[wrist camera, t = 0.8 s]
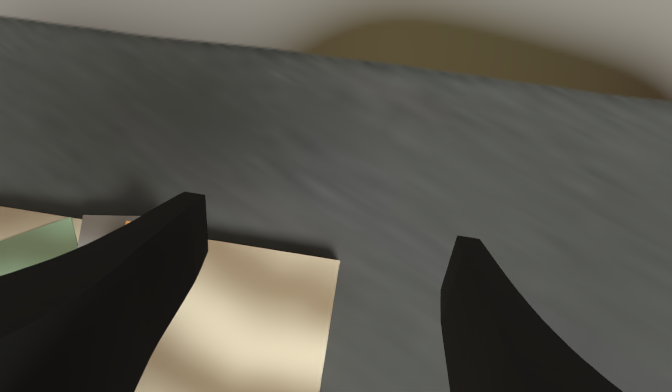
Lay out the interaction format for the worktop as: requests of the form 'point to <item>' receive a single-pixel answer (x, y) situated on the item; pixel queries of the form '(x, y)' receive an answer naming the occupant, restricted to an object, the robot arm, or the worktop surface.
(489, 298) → the robot arm
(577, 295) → the worktop surface
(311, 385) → the light wood flat board
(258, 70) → the worktop surface
